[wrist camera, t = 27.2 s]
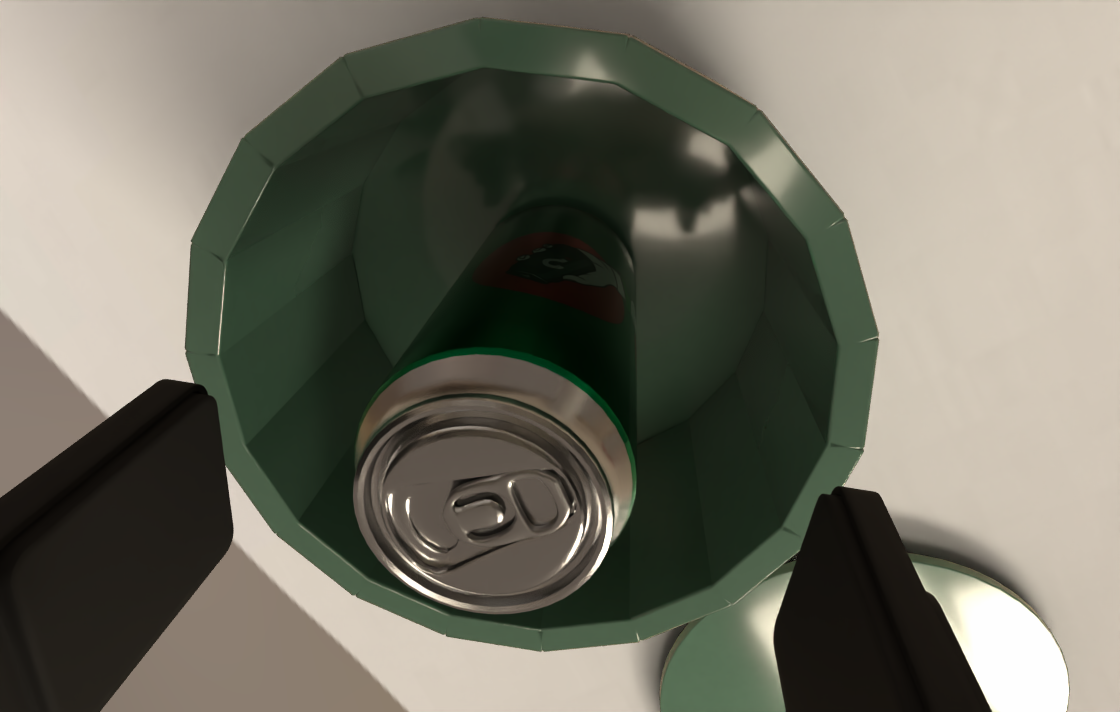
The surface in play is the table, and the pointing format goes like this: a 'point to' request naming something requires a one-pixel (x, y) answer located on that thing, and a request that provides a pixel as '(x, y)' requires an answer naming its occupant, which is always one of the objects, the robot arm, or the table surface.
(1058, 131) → the table surface
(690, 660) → the bowl lid
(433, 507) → the soda can
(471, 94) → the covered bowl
